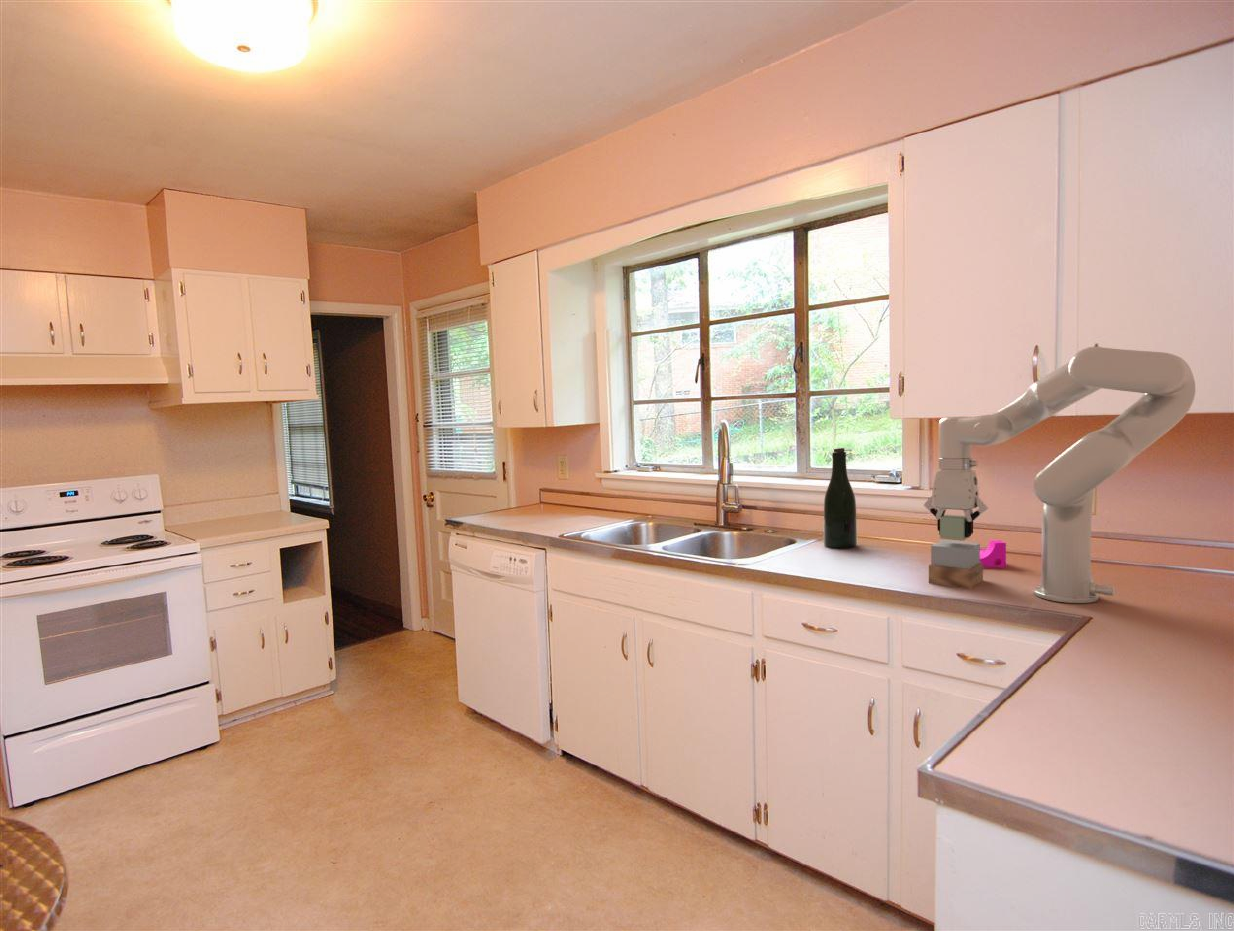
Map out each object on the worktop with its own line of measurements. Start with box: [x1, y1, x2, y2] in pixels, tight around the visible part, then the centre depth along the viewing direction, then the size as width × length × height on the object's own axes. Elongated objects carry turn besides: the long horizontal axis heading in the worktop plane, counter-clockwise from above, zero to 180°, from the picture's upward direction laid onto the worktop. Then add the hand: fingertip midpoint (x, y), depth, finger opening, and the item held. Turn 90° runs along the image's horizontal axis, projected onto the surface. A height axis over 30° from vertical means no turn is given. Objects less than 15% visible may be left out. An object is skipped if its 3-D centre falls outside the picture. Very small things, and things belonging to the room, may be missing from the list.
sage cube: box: [939, 514, 971, 542], centre depth 171 cm, size 6×6×6 cm
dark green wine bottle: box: [823, 447, 858, 550], centre depth 219 cm, size 10×10×33 cm
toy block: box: [980, 539, 1007, 568], centre depth 187 cm, size 15×6×8 cm, turn 81°
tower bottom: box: [928, 562, 984, 590], centre depth 172 cm, size 10×10×5 cm
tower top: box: [930, 539, 981, 569], centre depth 172 cm, size 9×9×5 cm
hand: (955, 534), depth 171 cm, fingers closed on sage cube, 5 cm apart
